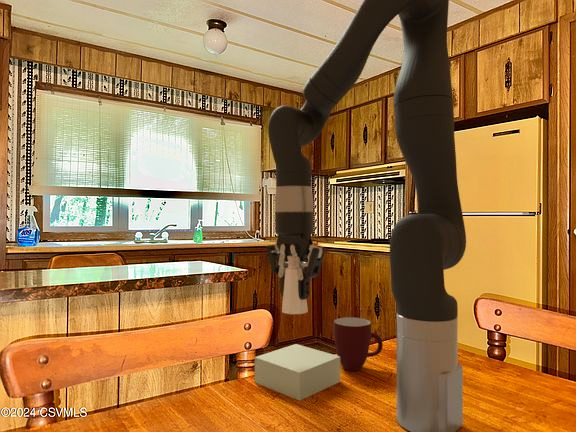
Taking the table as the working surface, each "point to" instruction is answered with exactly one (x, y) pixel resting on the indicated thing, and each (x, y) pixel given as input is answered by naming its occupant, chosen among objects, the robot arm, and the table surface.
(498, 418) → the table surface
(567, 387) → the table surface
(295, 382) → the sage box
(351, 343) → the mug
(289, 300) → the salt shaker
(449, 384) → the robot arm
